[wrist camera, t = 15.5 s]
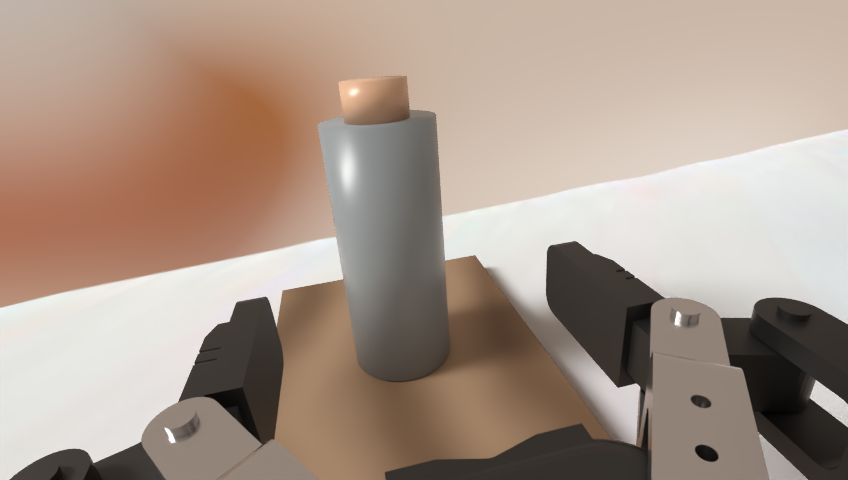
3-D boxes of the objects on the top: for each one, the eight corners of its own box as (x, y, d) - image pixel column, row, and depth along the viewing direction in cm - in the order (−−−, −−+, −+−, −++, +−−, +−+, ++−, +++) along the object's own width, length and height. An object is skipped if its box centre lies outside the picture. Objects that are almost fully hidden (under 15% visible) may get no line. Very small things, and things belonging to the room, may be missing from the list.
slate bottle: (438, 315, 26) (420, 71, 21) (461, 369, 22) (446, 76, 16) (354, 330, 25) (312, 81, 20) (359, 390, 21) (308, 90, 15)
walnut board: (475, 269, 33) (474, 255, 33) (620, 476, 17) (623, 454, 17) (286, 305, 31) (282, 290, 31) (248, 579, 15) (239, 558, 15)
